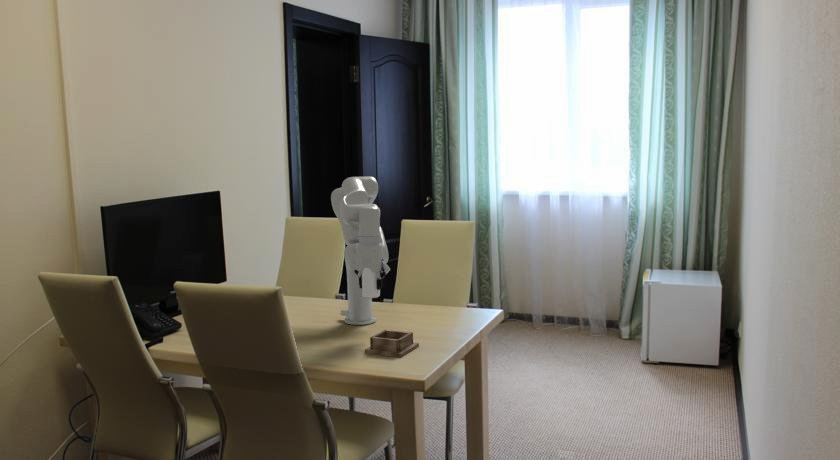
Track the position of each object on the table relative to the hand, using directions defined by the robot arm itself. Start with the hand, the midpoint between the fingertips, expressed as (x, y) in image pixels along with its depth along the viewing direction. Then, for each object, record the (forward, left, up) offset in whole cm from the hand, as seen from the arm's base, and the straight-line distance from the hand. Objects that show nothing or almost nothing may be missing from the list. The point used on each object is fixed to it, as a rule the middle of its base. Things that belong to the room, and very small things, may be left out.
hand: (371, 287), depth 272 cm
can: (0, 0, -3) cm, 3 cm away
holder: (+15, -14, -18) cm, 28 cm away
